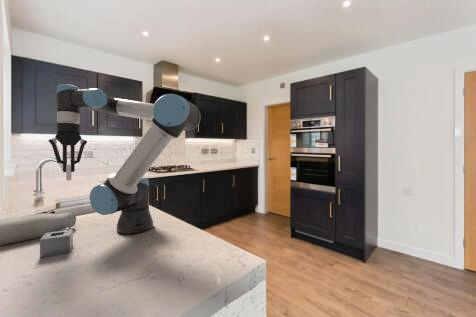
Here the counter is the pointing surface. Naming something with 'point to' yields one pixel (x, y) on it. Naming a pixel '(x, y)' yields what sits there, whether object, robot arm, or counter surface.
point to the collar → (56, 243)
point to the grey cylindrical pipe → (33, 226)
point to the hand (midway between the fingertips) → (68, 180)
